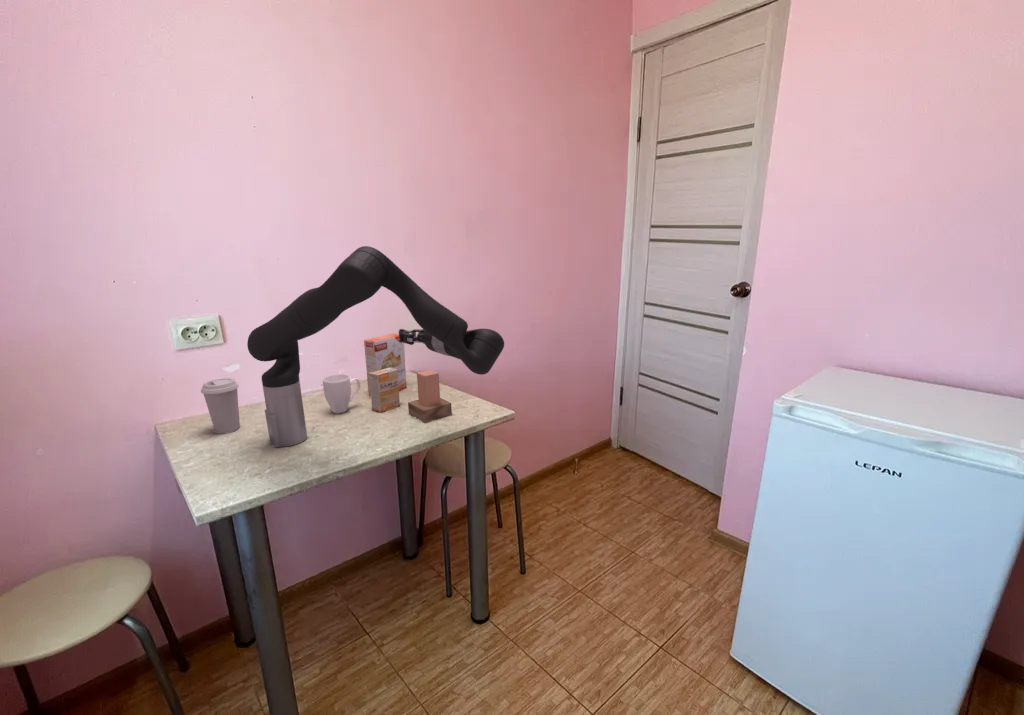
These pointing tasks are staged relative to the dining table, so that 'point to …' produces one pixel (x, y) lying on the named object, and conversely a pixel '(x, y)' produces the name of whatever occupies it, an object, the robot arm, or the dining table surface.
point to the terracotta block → (428, 387)
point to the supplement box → (384, 389)
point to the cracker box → (385, 357)
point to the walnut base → (429, 410)
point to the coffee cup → (222, 404)
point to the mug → (339, 392)
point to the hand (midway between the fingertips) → (414, 330)
